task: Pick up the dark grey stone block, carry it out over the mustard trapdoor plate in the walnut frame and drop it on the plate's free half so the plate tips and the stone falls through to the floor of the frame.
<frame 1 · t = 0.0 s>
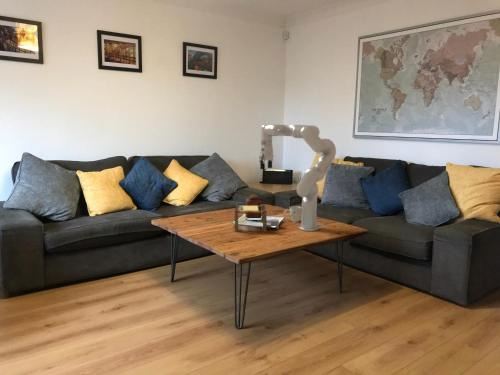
hand: (266, 168, 284), 37 cm above the table, tool pointing down, fingers open, 9 cm apart
mug: (292, 221, 293), on the table
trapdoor: (248, 208, 272), point 13 cm above the table, hinge at 0.0°
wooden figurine: (253, 220, 295), on the table
stone: (274, 227, 275), on the table
frame: (250, 227, 275), on the table
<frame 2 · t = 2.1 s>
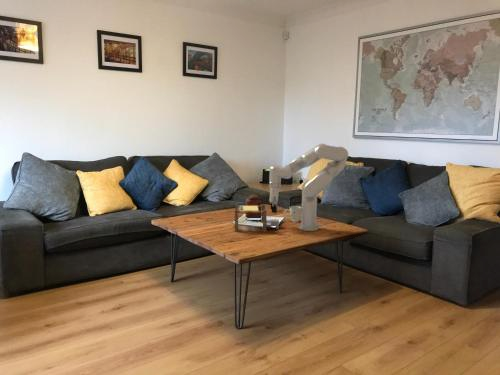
hand: (273, 211, 273), 11 cm above the table, tool pointing down, fingers open, 9 cm apart
nothing on the table moved.
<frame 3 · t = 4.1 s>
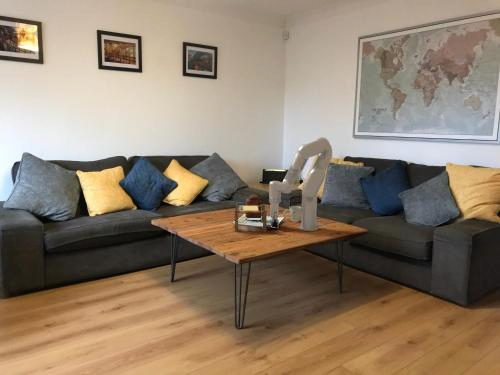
hand: (274, 226, 275), 0 cm above the table, tool pointing down, fingers closed on stone, 5 cm apart
stone: (274, 227, 275), on the table, touching gripper
everything else where it was.
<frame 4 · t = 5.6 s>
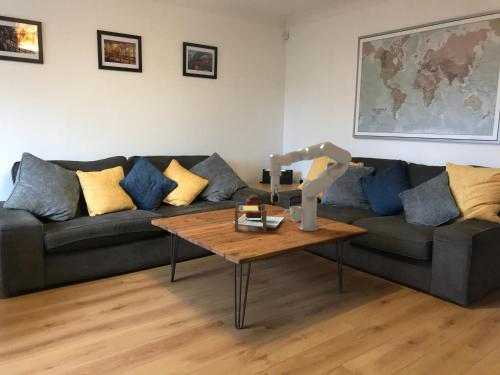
hand: (275, 200, 272), 18 cm above the table, tool pointing down, fingers closed on stone, 5 cm apart
stone: (275, 201, 272), point 17 cm above the table, touching gripper
everything else where it was.
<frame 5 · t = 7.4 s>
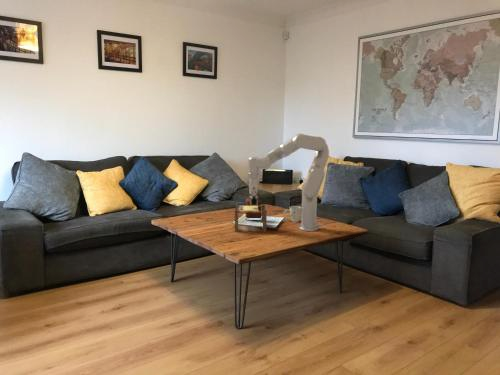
hand: (253, 203, 272), 16 cm above the table, tool pointing down, fingers closed on stone, 5 cm apart
stone: (253, 204, 272), point 16 cm above the table, touching gripper
everything else where it was.
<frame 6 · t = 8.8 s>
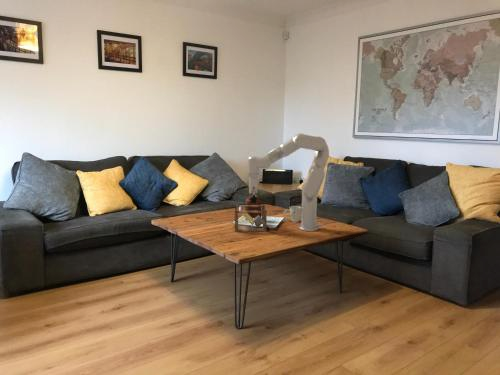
hand: (253, 201, 272), 17 cm above the table, tool pointing down, fingers open, 9 cm apart
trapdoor: (246, 214, 273), point 9 cm above the table, hinge at -44.7°, touching stone
stone: (255, 223, 274), point 3 cm above the table, tilted 50°, touching frame, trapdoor
everything else where it was.
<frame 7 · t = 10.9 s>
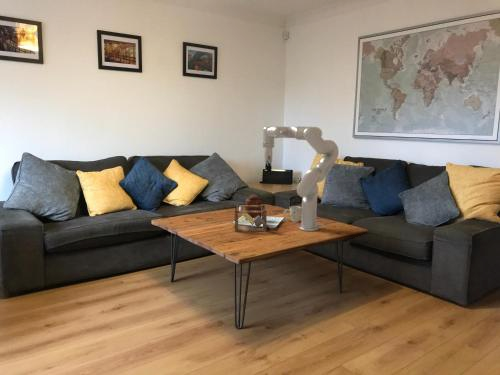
hand: (268, 170, 283), 36 cm above the table, tool pointing down, fingers open, 9 cm apart
nothing on the table moved.
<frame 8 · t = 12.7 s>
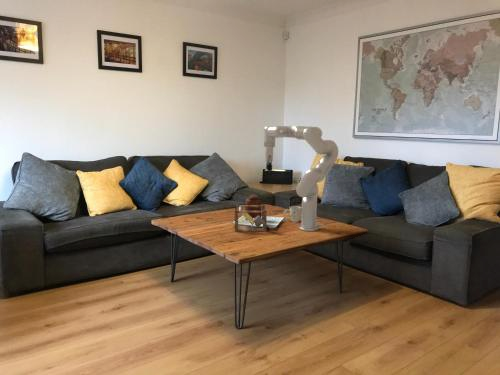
hand: (269, 170, 284), 36 cm above the table, tool pointing down, fingers open, 9 cm apart
nothing on the table moved.
at the end: stone point 2.7 cm above the table; stone inside the target area on the frame (3.3 cm from its centre), point 2.7 cm above the frame's base; the gripper is holding nothing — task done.
